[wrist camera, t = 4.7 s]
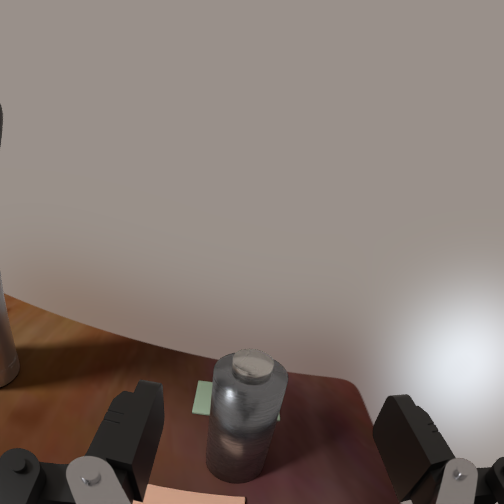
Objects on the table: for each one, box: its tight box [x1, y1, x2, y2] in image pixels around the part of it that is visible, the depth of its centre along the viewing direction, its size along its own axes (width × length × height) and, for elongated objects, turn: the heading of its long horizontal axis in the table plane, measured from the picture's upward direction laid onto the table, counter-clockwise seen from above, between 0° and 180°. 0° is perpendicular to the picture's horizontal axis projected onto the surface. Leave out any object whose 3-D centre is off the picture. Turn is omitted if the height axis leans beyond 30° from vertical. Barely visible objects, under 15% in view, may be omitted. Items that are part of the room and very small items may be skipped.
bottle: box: [206, 349, 288, 483], centre depth 24 cm, size 6×6×13 cm
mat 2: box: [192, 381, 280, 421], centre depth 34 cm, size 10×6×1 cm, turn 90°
